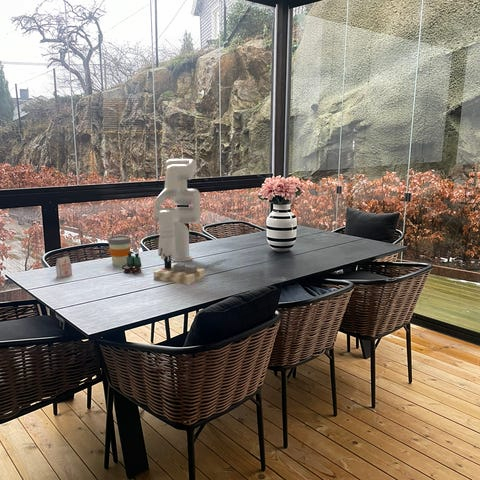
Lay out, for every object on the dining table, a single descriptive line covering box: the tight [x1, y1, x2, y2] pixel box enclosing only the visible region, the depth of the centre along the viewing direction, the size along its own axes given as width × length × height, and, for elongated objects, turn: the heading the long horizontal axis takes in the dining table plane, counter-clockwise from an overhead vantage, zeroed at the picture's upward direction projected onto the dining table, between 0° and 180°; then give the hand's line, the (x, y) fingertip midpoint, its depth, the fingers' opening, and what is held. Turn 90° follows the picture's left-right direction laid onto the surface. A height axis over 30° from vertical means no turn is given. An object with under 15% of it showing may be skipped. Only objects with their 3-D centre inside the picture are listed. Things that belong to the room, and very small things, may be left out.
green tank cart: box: [121, 251, 143, 275], centre depth 261 cm, size 9×11×10 cm
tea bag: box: [55, 256, 73, 279], centre depth 256 cm, size 4×7×10 cm, turn 141°
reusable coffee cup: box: [107, 235, 131, 266], centre depth 281 cm, size 13×12×15 cm
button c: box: [185, 264, 198, 274], centre depth 248 cm, size 4×4×4 cm
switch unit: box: [153, 264, 206, 285], centre depth 252 cm, size 21×16×4 cm
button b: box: [172, 262, 186, 272], centre depth 251 cm, size 4×4×4 cm
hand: (168, 268), depth 254 cm, fingers closed
